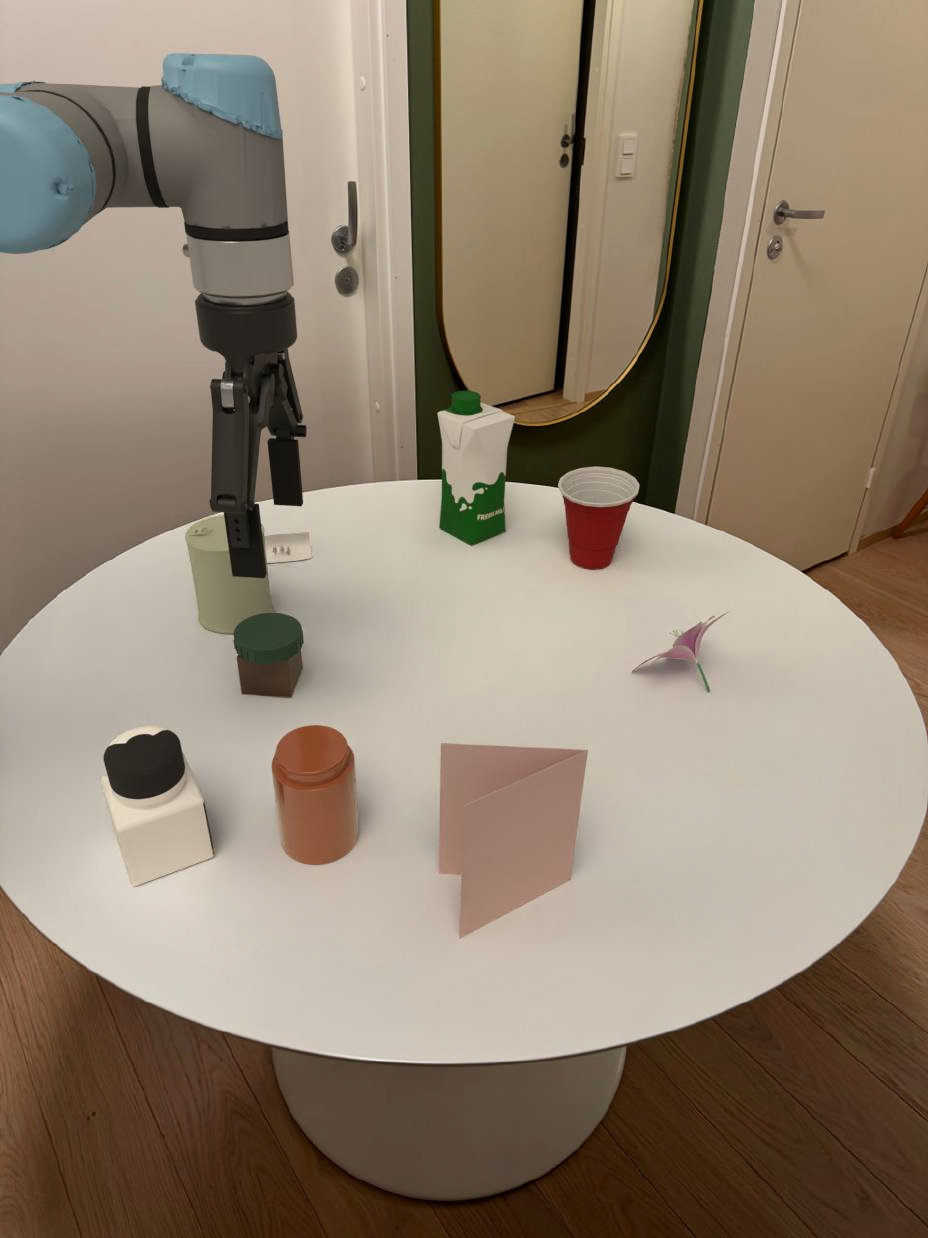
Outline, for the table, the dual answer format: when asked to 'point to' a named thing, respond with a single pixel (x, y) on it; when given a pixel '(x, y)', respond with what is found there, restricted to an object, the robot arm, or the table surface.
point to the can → (223, 579)
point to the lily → (687, 645)
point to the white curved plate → (287, 547)
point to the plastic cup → (596, 512)
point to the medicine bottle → (154, 804)
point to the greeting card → (507, 824)
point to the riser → (270, 676)
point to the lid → (268, 638)
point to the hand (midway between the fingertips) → (270, 537)
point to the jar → (315, 794)
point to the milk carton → (473, 467)
